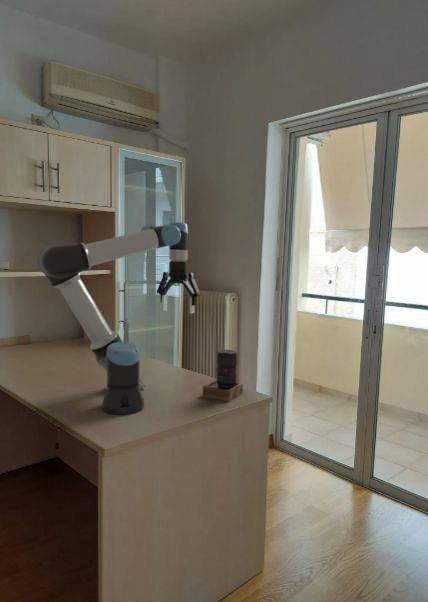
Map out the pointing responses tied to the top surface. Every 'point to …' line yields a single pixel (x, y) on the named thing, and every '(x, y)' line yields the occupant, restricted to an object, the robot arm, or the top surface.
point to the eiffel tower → (126, 339)
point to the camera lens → (226, 369)
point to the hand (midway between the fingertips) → (177, 312)
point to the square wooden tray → (222, 391)
